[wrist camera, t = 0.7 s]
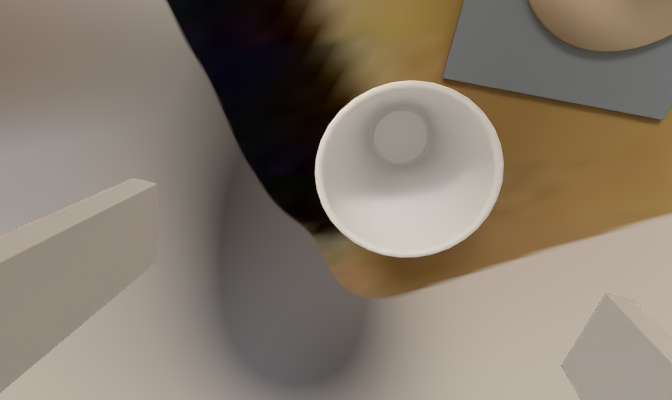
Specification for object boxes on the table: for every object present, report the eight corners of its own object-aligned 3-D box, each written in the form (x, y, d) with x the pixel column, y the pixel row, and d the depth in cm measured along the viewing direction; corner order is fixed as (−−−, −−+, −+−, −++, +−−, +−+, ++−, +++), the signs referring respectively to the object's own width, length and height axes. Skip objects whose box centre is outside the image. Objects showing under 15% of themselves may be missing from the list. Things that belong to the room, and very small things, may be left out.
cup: (477, 170, 28) (525, 230, 18) (366, 206, 31) (354, 276, 21) (442, 50, 26) (475, 44, 16) (322, 102, 28) (284, 126, 18)
